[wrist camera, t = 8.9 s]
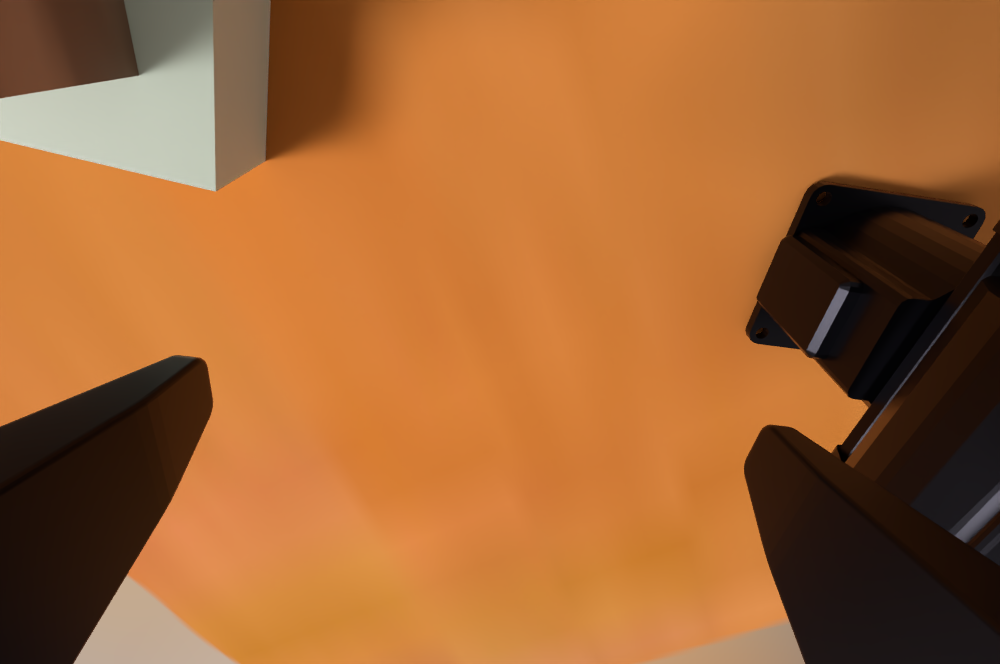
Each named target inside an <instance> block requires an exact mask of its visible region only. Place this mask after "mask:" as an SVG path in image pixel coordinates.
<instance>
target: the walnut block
mask: <svg viewBox="0 0 1000 664" xmlns="http://www.w3.org/2000/svg"><path fill="white" fill-rule="evenodd" d="M134 76H139V73H138V68H137V63H136V58H135V53H134V48H133V43H132V38H131V33H130V28H129V23H128V18H127V13H126V8H125V3H124V0H0V98H6V97H12V96H18V95H24V94H30V93H36V92H43V91H49V90H55V89H61V88H67V87H73V86H79V85H85V84H91V83H97V82H104V81H110V80H116V79H122V78H128V77H134Z"/></svg>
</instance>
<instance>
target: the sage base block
mask: <svg viewBox="0 0 1000 664" xmlns="http://www.w3.org/2000/svg"><path fill="white" fill-rule="evenodd" d="M124 3H125V8H126V13H127V18H128V23H129V28H130V33H131V38H132V43H133V48H134V53H135V58H136V63H137V68H138V73H139V76H134V77H128V78H122V79H116V80H110V81H104V82H97V83H91V84H85V85H79V86H73V87H67V88H61V89H55V90H49V91H43V92H36V93H30V94H24V95H18V96H12V97H6V98H0V140H2V141H6V142H10V143H14V144H19V145H23V146H27V147H31V148H35V149H40V150H44V151H48V152H52V153H56V154H61V155H65V156H69V157H73V158H77V159H81V160H86V161H90V162H94V163H98V164H102V165H107V166H111V167H115V168H119V169H123V170H128V171H132V172H136V173H140V174H144V175H149V176H153V177H157V178H161V179H165V180H170V181H174V182H178V183H182V184H186V185H190V186H195V187H199V188H203V189H207V190H211V191H217V190H219V189H221V188H222V187H224V186H225V185H227V184H229V183H230V182H232V181H234V180H235V179H237V178H239V177H240V176H242V175H243V174H245V173H247V172H248V171H250V170H252V169H253V168H255V167H256V166H258V165H260V164H261V163H263V162H265V161H266V132H267V100H268V69H269V37H270V6H271V0H124Z"/></svg>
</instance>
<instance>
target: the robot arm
mask: <svg viewBox="0 0 1000 664" xmlns="http://www.w3.org/2000/svg"><path fill="white" fill-rule="evenodd" d="M823 192H826V195H825V197H824V199H823V200H822V201H820V202H816V201H817V197H818V196H819V194H821V193H823ZM968 215H969V218H968V219H967V221H966V222H964V223H963V220H964V219H965V218H966V217H967V216H968ZM984 220H985V211H984V210H983V209H981V208H979V207H976V206H974V205H971V204H967V203H961V202H954V201H948V200H941V199H935V198H928V197H922V196H915V195H909V194H902V193H896V192H889V191H883V190H876V189H869V188H863V187H856V186H850V185H843V184H837V183H830V182H817V183H815V184H813V185H812V186H810V187H809V188H808V189H807V191H806V193H805V194H804V197H803V199H802V201H801V203H800V206H799V208H798V210H797V212H796V215H795V217H794V219H793V222H792V224H791V226H790V228H789V231H788V233H787V235H786V237H785V238H784V239H783V240H781V242H780V244H779V247H778V249H777V251H776V254H775V256H774V258H773V260H772V263H771V265H770V267H769V270H768V272H767V274H766V276H765V279H764V281H763V283H762V286H761V288H760V290H759V292H758V295H757V300H758V301H757V303H756V306H755V308H754V310H753V313H752V315H751V317H750V319H749V322H748V324H747V326H746V330H745V331H746V335H747V336H748V337H749V338H750V340H751V341H752V342H754V343H757V344H763V345H771V346H779V347H787V348H794V349H801V350H802V351H803V353H804V354H805V355H806V356H807V357H809V358H813V359H814V360H815V361H816V362H817V363H818V364H819V365H820V366H821V367H822V368H823V369H824V371H825V372H826V373H827V374H828V375H829V376H830V377H831V378H832V379H833V380H834V381H835V382H836V384H837V385H838V386H839V387H840V388H841V389H842V390H843V391H844V392H845V393H846V394H847V396H848V397H850V398H852V399H858V400H862V401H863V402H864V403H865V404H866V405H867V406H868V410H867V411H866V412H865V414H864V415H863V417H862V418H861V419H860V421H859V422H858V423H857V425H856V426H855V428H854V429H853V430H852V432H851V433H850V434H849V436H848V437H847V439H846V440H845V441H844V443H843V444H842V445H837V446H836V447H835V449H834V450H833V452H832V453H830V452H828V451H827V450H825V449H824V448H822V447H821V446H819V445H818V444H816V443H815V442H813V441H812V440H810V439H809V438H807V437H806V436H804V435H803V434H801V433H800V432H798V431H797V430H795V429H794V428H791V427H786V426H777V425H767V426H765V427H764V428H762V430H761V431H760V433H759V435H758V437H757V439H756V441H755V443H754V445H753V446H752V448H751V450H750V452H749V454H748V456H747V458H746V461H745V465H744V474H745V479H746V483H747V486H748V490H749V494H750V498H751V502H752V506H753V510H754V514H755V517H756V521H757V525H758V529H759V533H760V537H761V541H762V544H763V548H764V551H765V555H766V558H767V561H768V564H769V567H770V570H771V573H772V576H773V579H774V581H775V584H776V587H777V589H778V592H779V595H780V597H781V600H782V603H783V605H784V608H785V611H786V613H787V616H788V619H789V622H790V624H791V627H792V630H793V632H794V635H795V638H796V640H797V643H798V646H799V648H800V651H801V654H802V656H803V659H804V662H805V664H1000V220H999V221H998V223H997V224H996V225H995V227H994V228H993V231H995V232H996V233H995V235H994V236H993V238H992V239H991V240H990V242H989V243H988V244H987V245H985V244H983V243H980V242H978V241H976V240H974V239H973V238H974V237H975V235H976V234H977V232H978V230H979V229H980V227H981V226H982V224H983V222H984ZM760 328H764V330H763V331H762V332H760V333H757V334H756V332H757V330H759V329H760ZM212 408H213V397H212V391H211V385H210V379H209V373H208V367H207V364H206V362H205V361H204V360H203V359H201V358H198V357H190V356H181V355H175V356H171V357H169V358H166V359H164V360H161V361H159V362H157V363H154V364H152V365H149V366H147V367H144V368H142V369H140V370H137V371H135V372H132V373H130V374H127V375H125V376H122V377H120V378H118V379H115V380H113V381H110V382H108V383H105V384H103V385H101V386H98V387H96V388H93V389H91V390H88V391H86V392H84V393H81V394H79V395H76V396H74V397H71V398H69V399H66V400H64V401H62V402H59V403H57V404H54V405H52V406H49V407H47V408H45V409H42V410H40V411H37V412H35V413H32V414H30V415H28V416H25V417H23V418H20V419H18V420H15V421H13V422H10V423H8V424H6V425H3V426H1V427H0V664H73V663H74V662H75V660H76V658H77V657H78V655H79V653H80V652H81V650H82V648H83V647H84V645H85V643H86V642H87V640H88V638H89V637H90V635H91V633H92V632H93V630H94V628H95V627H96V625H97V623H98V622H99V620H100V619H101V617H102V615H103V614H104V612H105V610H106V609H107V607H108V605H109V604H110V602H111V600H112V598H113V597H114V595H115V594H116V592H117V590H118V588H119V587H120V585H121V584H122V582H123V580H124V579H125V577H126V575H127V574H128V572H129V570H130V569H131V567H132V565H133V564H134V562H135V560H136V559H137V557H138V556H139V554H140V552H141V551H142V549H143V547H144V546H145V544H146V542H147V541H148V539H149V537H150V536H151V534H152V532H153V531H154V529H155V527H156V526H157V524H158V522H159V521H160V519H161V517H162V516H163V514H164V512H165V510H166V509H167V507H168V505H169V503H170V502H171V500H172V498H173V496H174V494H175V492H176V490H177V488H178V486H179V483H180V481H181V479H182V477H183V475H184V472H185V470H186V468H187V466H188V464H189V462H190V459H191V457H192V455H193V453H194V451H195V448H196V446H197V444H198V442H199V440H200V437H201V435H202V433H203V431H204V429H205V427H206V424H207V422H208V420H209V418H210V415H211V412H212Z"/></svg>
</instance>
